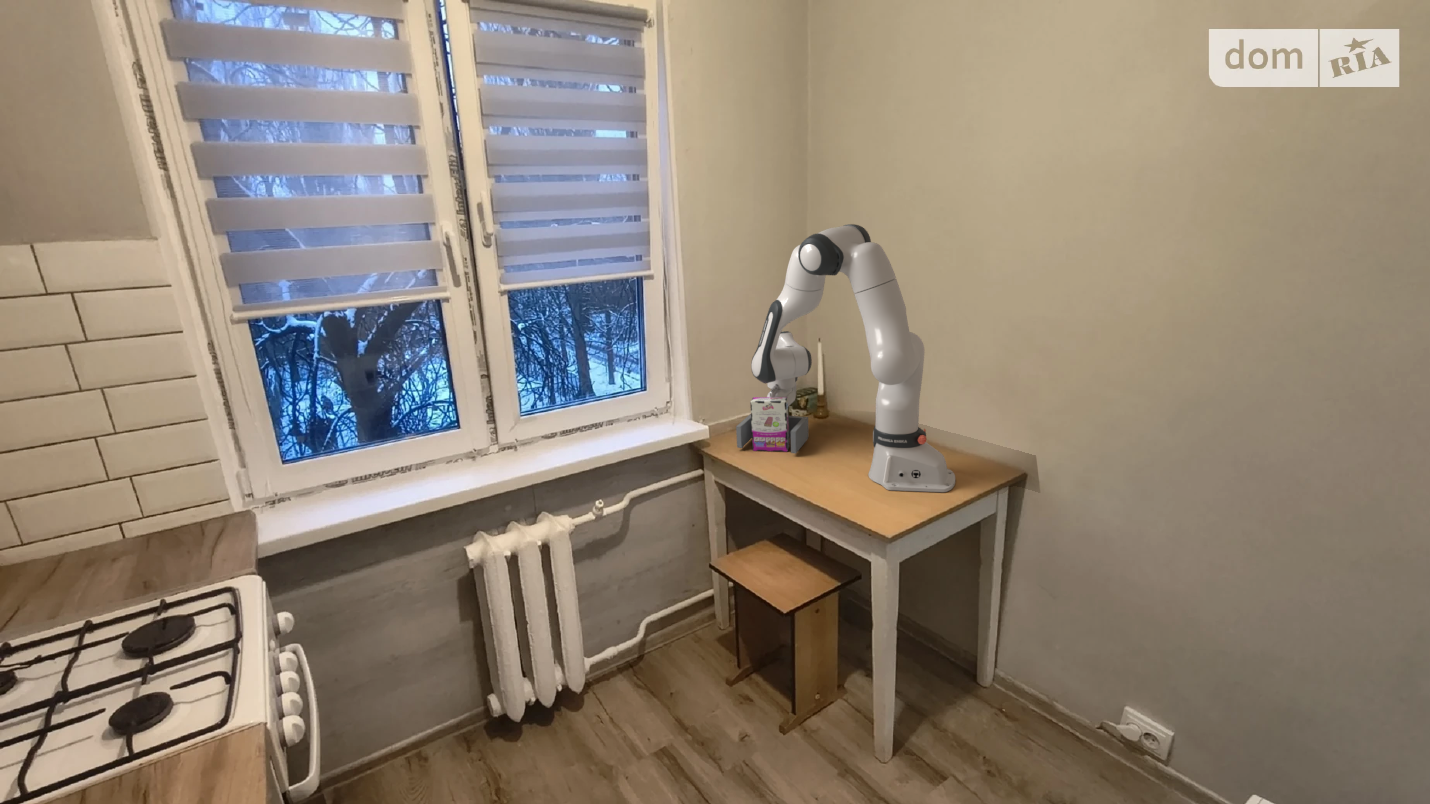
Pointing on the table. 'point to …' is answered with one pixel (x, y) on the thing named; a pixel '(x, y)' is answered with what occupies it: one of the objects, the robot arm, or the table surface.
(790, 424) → the gray u-shaped holder
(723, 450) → the table surface
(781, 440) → the candy bar box
